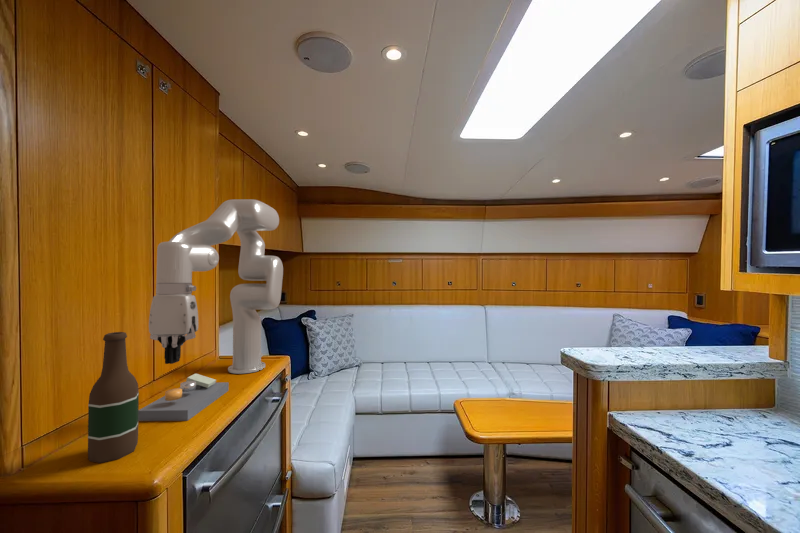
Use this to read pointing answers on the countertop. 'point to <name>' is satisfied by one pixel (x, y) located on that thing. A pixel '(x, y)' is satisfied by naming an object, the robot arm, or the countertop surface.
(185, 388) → the button metal
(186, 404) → the panel
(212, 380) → the block
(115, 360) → the beer bottle
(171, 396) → the button orange
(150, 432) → the countertop surface
